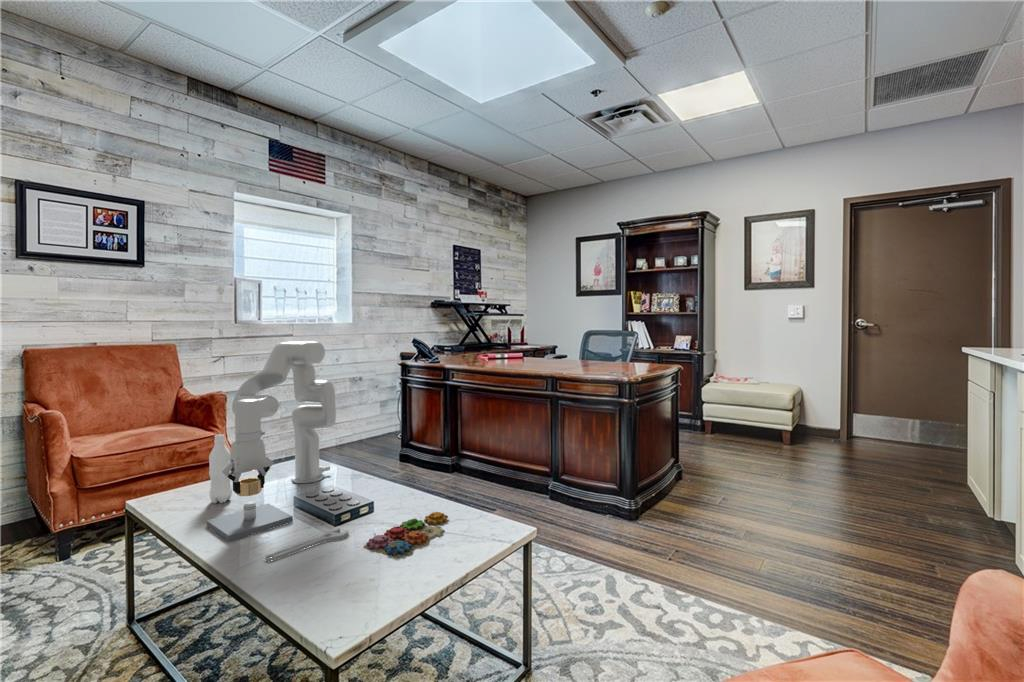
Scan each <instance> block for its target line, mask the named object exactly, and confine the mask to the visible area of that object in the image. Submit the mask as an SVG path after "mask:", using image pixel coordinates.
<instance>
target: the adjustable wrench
mask: <svg viewBox="0 0 1024 682" xmlns="http://www.w3.org/2000/svg"><path fill="white" fill-rule="evenodd" d="M348 536H349V529H345V530H344V531H343V532H341V529H340V528H339V527H337V528H332V529H329V530H326V531H324V533H323V534H322V535H320V536H318V537H316V538H312V539H310V540H307V541H304V542H302V543H299V544H298V543H297V544H296V545H293V546H291V547H290V546H289V547H287V548H284V549H281V550H278V551H276V552H273V553H269V554H267V555H266V556H264V560H266V561H271V560H275V559H277V560H279V559H278V558H280V559H282V558H281V557H283V558H285V557H288V556H290V555H289V554H291V555H293V554H292V553H294V554H296V553H298V552H297V551H299V552H301V551H300V550H302V549H304V548H307V547H309V546H312V545H315V544H318V543H321V542H324V541H328V542H331V541H330V540H333V541H340V540H343V539H346V538H347V537H348ZM339 539H340V540H339ZM324 543H325V542H324ZM321 544H322V543H321ZM318 545H319V544H318ZM315 546H316V545H315ZM307 549H308V548H307ZM304 550H305V549H304ZM302 551H303V550H302ZM295 552H296V553H295ZM287 555H288V556H287ZM284 556H285V557H284ZM270 557H272V558H270ZM266 561H265V562H266ZM275 561H276V560H275Z"/></svg>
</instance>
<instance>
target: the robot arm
mask: <svg viewBox="0 0 1024 682" xmlns="http://www.w3.org/2000/svg"><path fill="white" fill-rule="evenodd" d="M325 355H326V349H325V346H324V344H323V343H321V342H320V341H287V342H286V341H284V342H279V343H277V344H275V346H274V347H273V349H272V350H271V352H270V354H269V356H268V359H267V360H266V362H265V364H264V366H263V369H262V370H261V371H259V372H258V373H257V372H256V373H255V374H254V375H252V376H251V377H250V378H248V379H247V380H245V381H244V382H243V383H242V384H241V386H240V387H239V388H238V390H237V392H236V394H235V396H234V398H233V400H232V404H231V410H232V412H233V414H234V436H235V437H234V441H232V442H231V443H232V444H231V449H230V464H229V465H228V466H227V467H226V468H225V469H224V470H223V471H222V473H223V474H224V475H225V476H227V477H228V478H229V479H230V481H232V492H234V493H235V494H236V495H237V494H240V482H239V480H240V477H241V475H242V474H243V473H244V474H245V473H249V472H253V471H257V472H258V474H257V476H256V478H260V479H261V489H264V487H265V486H264V485H266V484H265V480H266V478H265V476H266V475H267V473H269V470H271V469H270V468H272V466H273V465H274V463H275V462H274V461H273V460H272V459H271V458H269V457H267V454H266V453H267V452H266V448H265V447H266V446H265V443H264V440H263V438H262V436H263V435H264V436H265V435H266V431H265V430H262V427H261V426H262V425H261V422H262V421H261V420H262V419H264V418H265V419H266V418H271V417H272V416H275V414H277V412H278V410H279V406H280V405H279V401H278V399H277V398H276V397H275V396H272V395H266V394H265V395H263V394H262V395H259V394H258V393H260V392H262V391H264V390H267V389H271V388H273V387H276V386H279V385H280V384H282V383H284V382H285V381H286V380H287V378H288V375H289V372H290V370H291V371H292V379H293V393H294V399H295V401H297V402H298V403H303V404H302V405H298V406H296V407H295V408H294V409H293V410H292V413H291V421H292V425H293V431H294V458H295V459H294V466H295V467H294V468H295V470H294V471H295V475H293V476H292V477H291V478H290V479H291V482H292V483H295V484H310V483H316V482H318V481H321V480H322V479H324V474H323V473H324V472H327V471H330V470H331V466H330V465H326V466H324V465H322V466H321V465H320V437H319V434H318V432H317V430H316V429H328V428H332V427H333V426H334V425H335V423H336V420H337V411H336V409H337V407H336V406H337V405H336V393H335V392H336V391H335V386H334V384H333V383H332V382H331V381H330V380H327V379H316V371H315V366H314V365H313V364H319V363H321V362H322V361H323V360H324V358H325ZM257 394H258V395H257ZM304 403H305V404H304ZM306 403H308V404H306ZM230 470H231V472H233V473H231V474H230V473H229V471H230Z"/></svg>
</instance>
